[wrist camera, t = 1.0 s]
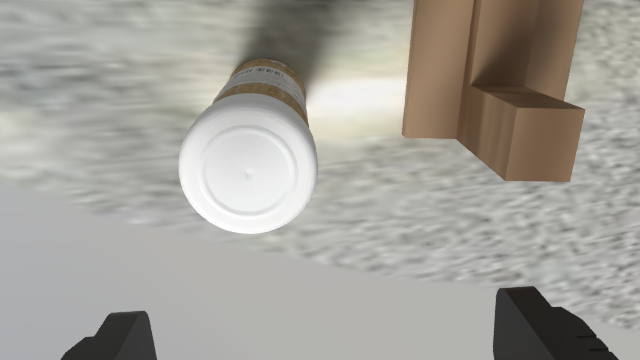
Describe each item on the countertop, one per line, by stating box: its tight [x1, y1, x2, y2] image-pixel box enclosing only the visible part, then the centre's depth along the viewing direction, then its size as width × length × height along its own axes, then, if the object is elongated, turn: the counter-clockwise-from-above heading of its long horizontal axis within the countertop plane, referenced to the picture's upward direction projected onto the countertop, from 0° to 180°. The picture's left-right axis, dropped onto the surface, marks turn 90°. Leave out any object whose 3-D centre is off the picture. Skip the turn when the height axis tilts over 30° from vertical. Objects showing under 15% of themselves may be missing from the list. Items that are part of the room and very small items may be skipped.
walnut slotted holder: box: [402, 0, 585, 182], centre depth 24 cm, size 9×13×8 cm
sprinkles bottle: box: [178, 58, 318, 234], centre depth 22 cm, size 5×5×14 cm
